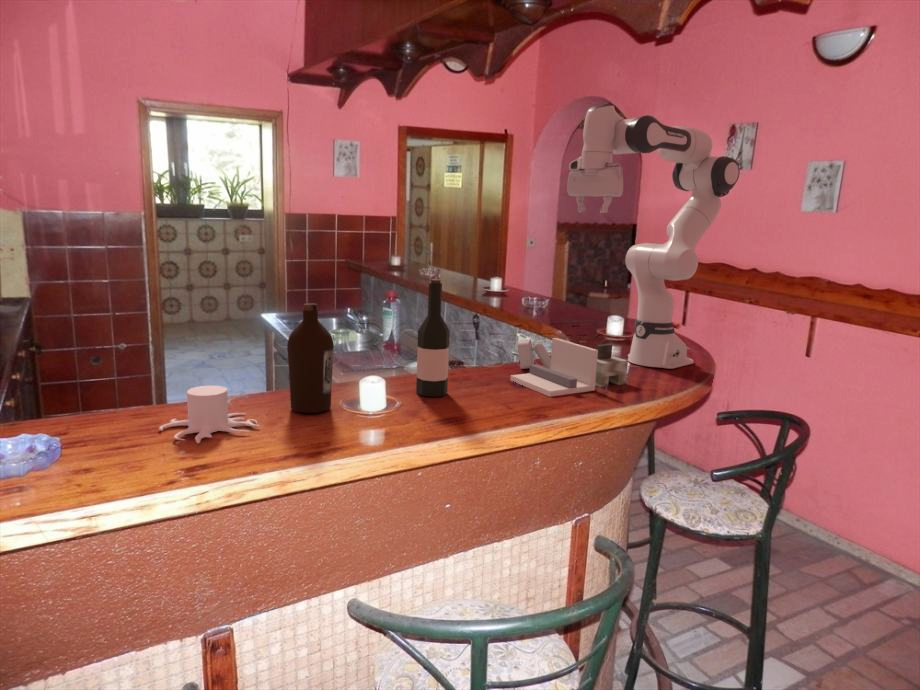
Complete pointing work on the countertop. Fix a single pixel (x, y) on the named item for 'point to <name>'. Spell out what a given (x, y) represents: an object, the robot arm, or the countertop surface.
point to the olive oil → (310, 363)
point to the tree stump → (209, 413)
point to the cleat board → (563, 370)
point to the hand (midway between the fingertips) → (592, 212)
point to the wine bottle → (433, 347)
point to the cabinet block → (609, 367)
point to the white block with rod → (527, 354)
